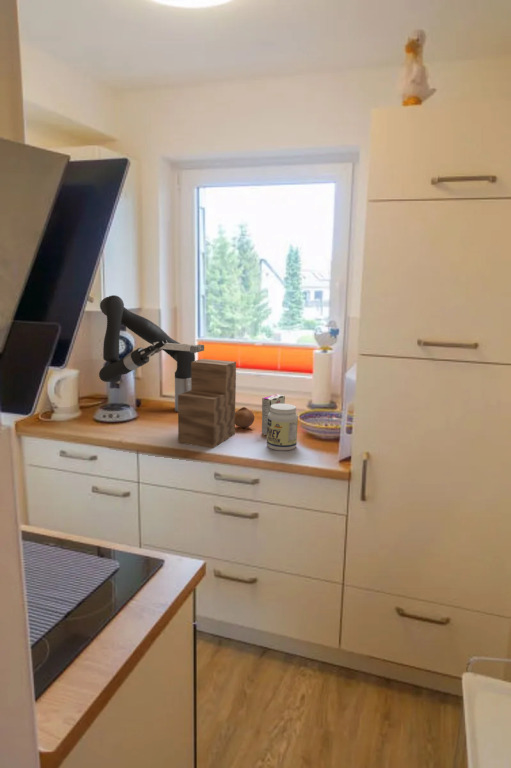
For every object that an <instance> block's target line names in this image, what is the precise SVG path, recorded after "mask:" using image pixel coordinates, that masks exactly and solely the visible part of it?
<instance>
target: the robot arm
mask: <svg viewBox="0 0 511 768" xmlns="http://www.w3.org/2000/svg"><path fill="white" fill-rule="evenodd" d="M99 309H100V311H101V312H102V314H103V315H105V316H106V329H105V334H104V338H103V339H104V340H103V345H102V346H103V347H102V348H103V349H102V350H103V351H102V352H103V354H102V359H103V361H105V362H107V363H108V364H106V365H105V366H103V367H102V368H100V370H99V373H98V377H99V379H100V380H101V381H102V382H104V383H105V382H106V383H117V382H119V381H120V380H121V379H122V376H124V375H128V373H131V372H132V371H134V370H137V369H139V368H141V367H142V366H144V365H146V364H148V363H149V362H150V357H153V356H155V355H156V354H159V352H161V351H163V352H165V353H166V354H167V355H168V356H169V357H171V358H172V359H173V360H175V362H176V370H175V371H174V411H175V412H177V413H178V395H180V394H182V393H185V392H188V391H190V390H191V362H193V361H196V355H195V354H196V353H191V352H190V351H180V350H169V349H159V348H160V347H162V346H164V343H176V344H181V343H180V342H178V341H177V340H175V339H173V338H171V337H170V336H169V335H168V334H167V333H166V332H165V330H163V329H162V328H161V327H160V326H158V325H157V324H155V323H154V322H153V321H151V320H149V319H148V318H146V317H144V316H142V315H139V314H136V313H134V312H132V311H130V310H129V309H128V308H127V307H125V304H124V301H123V299H122V298H121V297H120V296H118V295H113V294H112V295H109V296H106V297H105V298H103V299H102V300H101V301H100V302H99ZM122 325H123V326H124V327H125V328H127V329H128V330H130V331H131V332H133V333H134V334H135V335H137V337H140V338H141V339H142V340H144V341H145V342H147V343H149V344H150V345H149V346H147V347H144V348H143V347H138V348H136V349H135V350H132V351H131V352H129V353H128V354H127V355H125V356H124V357H122V358H121V359H120V338H121V337H120V336H121V335H120V333H121V326H122ZM154 342H159V343H157V344H156V345H155V344H154Z"/></svg>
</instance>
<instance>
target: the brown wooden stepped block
mask: <svg viewBox="0 0 511 768" xmlns="http://www.w3.org/2000/svg"><path fill="white" fill-rule="evenodd" d="M236 382H237V361H233V360H232V361H230V360H219V359H209V358H201V359H198V360H195V361H193V362H191V390H190V391H188V392H185V393H182V394H180V395H178V412H177V421H178V422H177V423H178V426H177V427H178V428H177V429H178V430H177V432H178V436H177V437H178V438H177V439H178V440H177V441H178V442H179V443H178V444H184V443H186V444H185V445H190V444H192V446H196V445H197V447H203V448H210V449H214V448H216V447H218V446H219V445H220V444H223V443H224V442H225V441H226V440H228V439H229V438H232V437H233V436H234V435H235V434H236V425H235V412H236V393H237V391H236V386H237V385H236V384H237V383H236Z"/></svg>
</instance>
